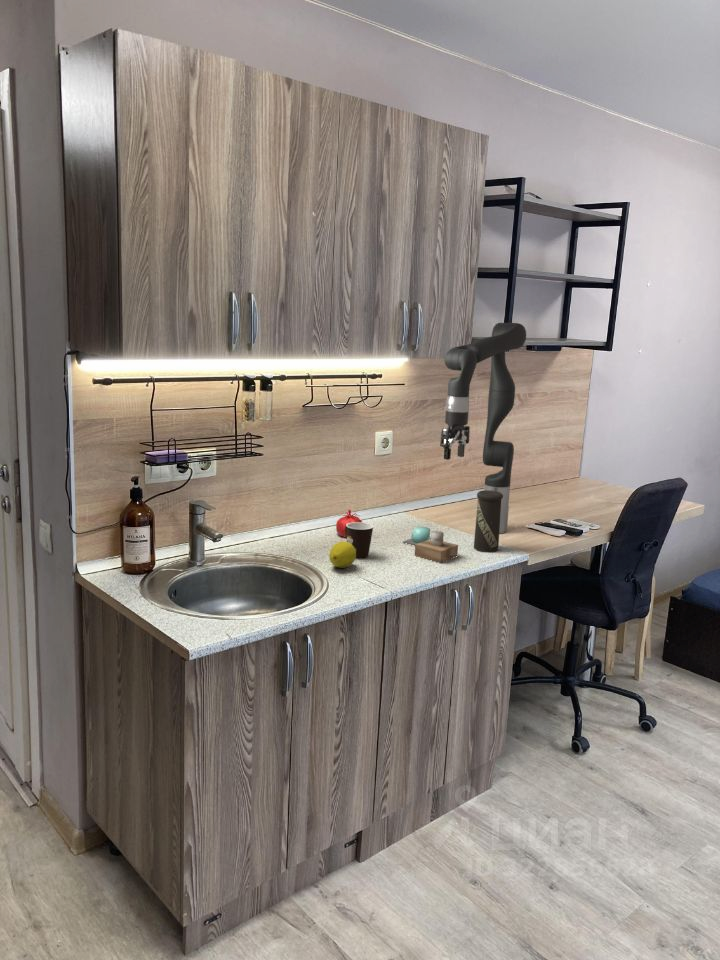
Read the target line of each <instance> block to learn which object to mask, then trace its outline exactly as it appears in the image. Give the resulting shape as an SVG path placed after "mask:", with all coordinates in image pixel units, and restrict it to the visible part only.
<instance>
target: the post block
mask: <svg viewBox="0 0 720 960" xmlns="http://www.w3.org/2000/svg"><path fill="white" fill-rule="evenodd" d="M444 535H445V533H444V532H443V531H440V530H434V531H432V530H431V531H430V538H431V539H430V540H427V541H424V542H421V543H418V544H415V546H414V557H415V556H416V558H419V557H420V558H419V559H423V558H424V559H423V560H426V559H427V560H426V561H430V560H432V561H431V562H434V561H436V562H435V563H438V562H440V563H439V564H442V563H444V562H443V561H445V562H447V561H446V560H448V561H450V560H452V559H451V558H453V557H455V558H457V557H458V551H459V544H455V543H452V542H448V541H444V537H445V536H444ZM456 556H457V557H456ZM449 559H450V560H449ZM453 559H454V558H453ZM441 562H442V563H441Z"/></svg>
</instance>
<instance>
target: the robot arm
mask: <svg viewBox="0 0 720 960" xmlns="http://www.w3.org/2000/svg"><path fill="white" fill-rule="evenodd" d="M526 339H527V331H526V328H525V326H524V324H521V323H518V322H497V323H496V324H495V325H494V326H493V328H492V331H491V336H488V337H483V338H480V339H477V340H475V341H472V342H470V343H468V344H464V345H459V346H454V347H451V348H450V349H449V350H448V351H447V352H446V353H445V356H444V358H443V361H444V366H445V367H446V368H448V369H449V370H450V371H451V370H452V371H457V372H458V371H460V373H459V376H457V377H452V378H450V379H449V380H448V384H447V398H446V401H445V403H446V404H445V418H444V419H445V420H444V423H445V424H447V428H441V435H440V445H439V446H440V447H442V448H443V460H445V461H449V460H451V455H452V447H453V444H456V443H455V442H456V441H457V444H458V445H457V453H456V455H457V457H459V458H464V456H465V446H467V444H469V443H470V431H471V429H470V427H471V426H470V425H468V423H469V411H470V387H471V386H470V385H471V382H472V378H473V375H474V373H475V369H476V367H477V364H479V363H481V362H483V361H486V360H487V359H489V358H491V359H490V361H491V364H490V365H491V366H490V377H489V379H490V381H489V386H488V399H487V415H486V416H487V418H486V428H485V435H484V441H483V449H482V463H483V465H485V466H487V467H490V466H491V467H496V468H497V467H499V468H502V469H501V470H500V471H499V472H495V473H492V474H487V476H485V479H484V488H483V490H490V491H497V492H500V493H501V494H502V495H503V498H502V500H501V513H500V531H499V534H504V533H506V532H507V530H508V524H509V523H508V520H509V510H510V506H509V505H510V494H511V493H510V491H511V489H510V488H511V481H512V480H511V478H512V470H513V469H512V467H513V462H514V453H515V446H514V444H513V443H512V442H511V441H502V440H501V441H500V440H495V439H494V437H495V435H496V433H497V431H498V429H499V427H500V425H502V423H503V422H504V420H505V419H506V417H508V415H509V414H510V412H511V411H512V409H513V408H514V405H515V398H516V397H515V395H516V386H515V381H514V379H513V378H512V377H513V376H512V375H511V373H510V371H509V369H508V367H507V366H508V365H507V363H506V352H507V351H513V350H517V349H520V348H522V347H523V346H524V345H525V342H526Z"/></svg>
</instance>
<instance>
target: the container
mask: <svg viewBox="0 0 720 960" xmlns="http://www.w3.org/2000/svg"><path fill="white" fill-rule="evenodd" d="M476 497H477V507H476V517H475V528H474V529H475V531H474V540H473V549H475V551H479V552H483V553H486V552H487V553H493V551H494V552H497V551H498V550H499V545H500V533H499V531H500V513H501V500H502V498H503V495H502V494H501V493H500V492H497V491H490V490H484V489H483V490H480V491H478V492H477V493H476Z"/></svg>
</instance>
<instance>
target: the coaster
mask: <svg viewBox="0 0 720 960" xmlns="http://www.w3.org/2000/svg"><path fill="white" fill-rule="evenodd" d="M405 543H407V544H406V545H408V544H411V545H410V546H412V545H414V546H413V547H415V544H418V543H415V542H413V539H412V538H410V539H409V538H408V539H406V540H403V541H402V544H405Z"/></svg>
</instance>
